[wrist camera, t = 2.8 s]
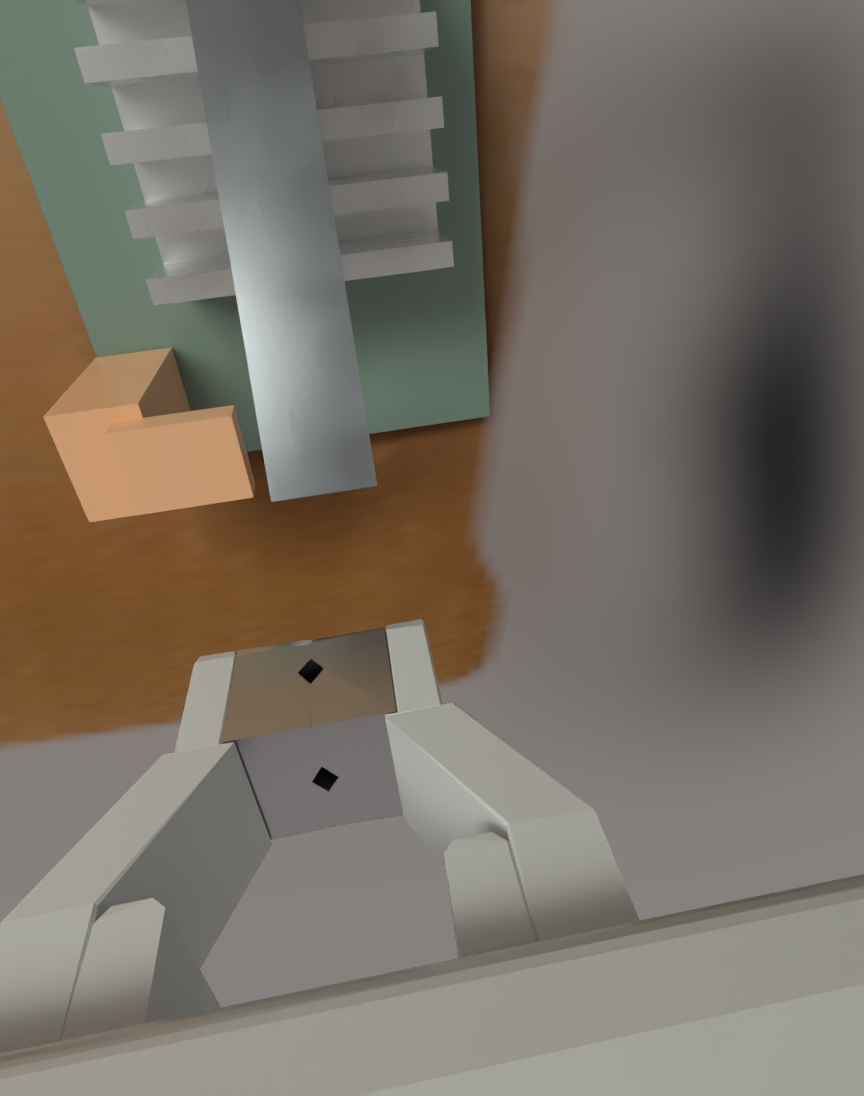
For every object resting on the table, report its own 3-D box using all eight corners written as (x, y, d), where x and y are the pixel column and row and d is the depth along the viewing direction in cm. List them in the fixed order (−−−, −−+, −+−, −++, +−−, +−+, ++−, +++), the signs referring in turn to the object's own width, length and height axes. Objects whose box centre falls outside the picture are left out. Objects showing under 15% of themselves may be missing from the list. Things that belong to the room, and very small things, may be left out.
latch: (95, 357, 27) (32, 428, 21) (246, 337, 27) (227, 401, 21) (129, 448, 29) (81, 536, 23) (268, 428, 30) (256, 509, 24)
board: (-161, -375, 18) (-184, -400, 17) (444, -406, 19) (450, -431, 18) (142, 458, 31) (137, 468, 30) (485, 408, 32) (490, 416, 31)
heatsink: (14, -299, 18) (-71, -417, 14) (384, -322, 19) (404, -440, 15) (182, 292, 26) (159, 323, 22) (433, 260, 27) (455, 284, 23)
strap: (105, -350, 15) (81, -426, 14) (268, -359, 15) (259, -435, 14) (252, 506, 16) (242, 506, 15) (401, 483, 16) (403, 481, 15)
